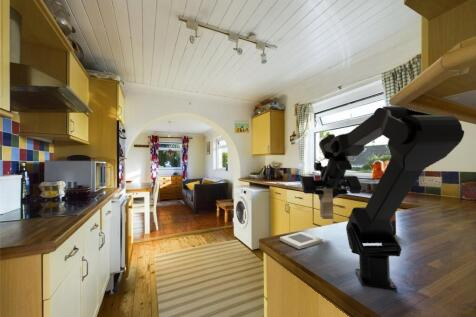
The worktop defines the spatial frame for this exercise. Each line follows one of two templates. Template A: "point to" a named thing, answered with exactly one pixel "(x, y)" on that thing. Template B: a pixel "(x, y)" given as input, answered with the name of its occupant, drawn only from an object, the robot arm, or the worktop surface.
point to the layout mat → (301, 240)
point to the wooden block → (327, 204)
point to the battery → (393, 223)
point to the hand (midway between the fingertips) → (324, 198)
